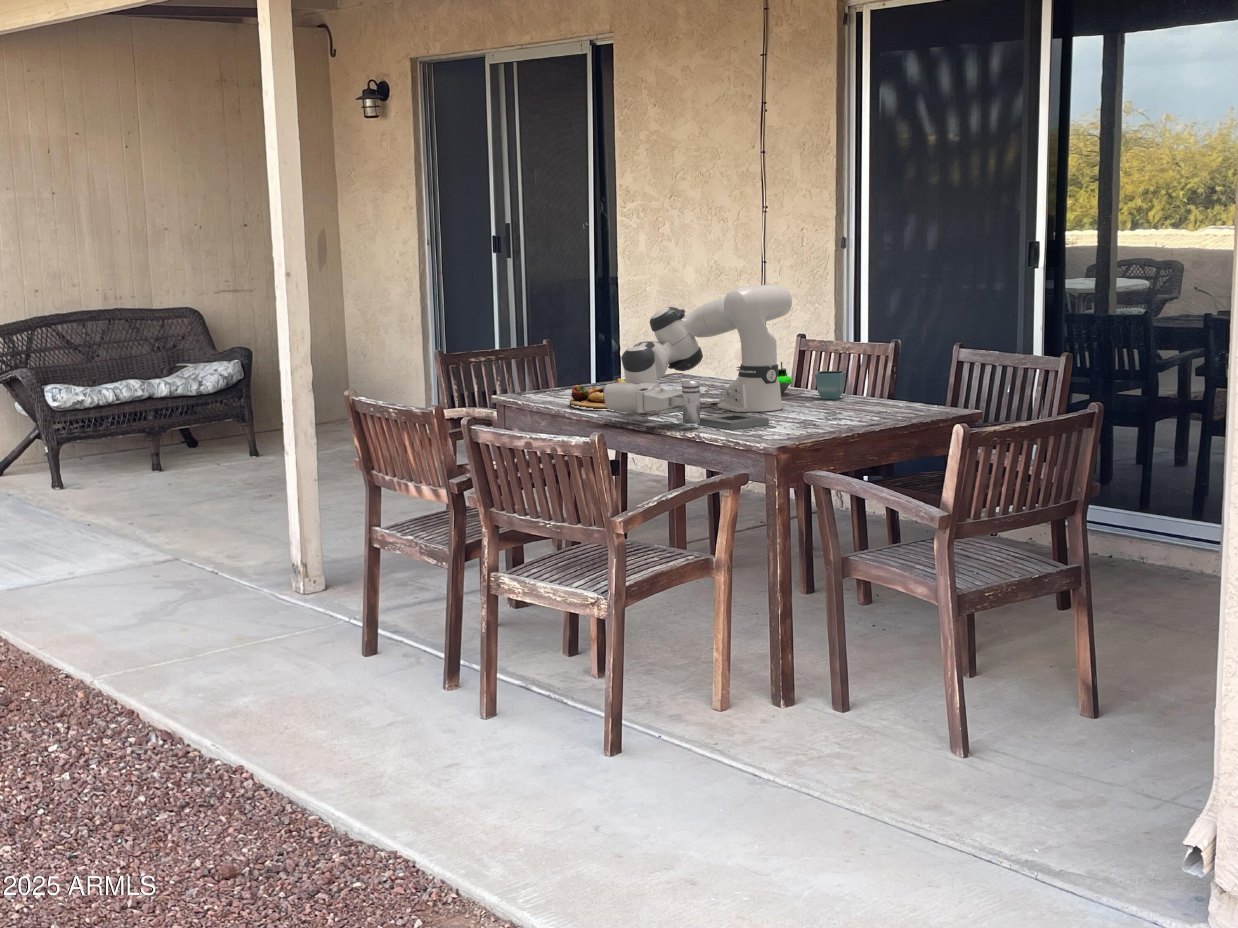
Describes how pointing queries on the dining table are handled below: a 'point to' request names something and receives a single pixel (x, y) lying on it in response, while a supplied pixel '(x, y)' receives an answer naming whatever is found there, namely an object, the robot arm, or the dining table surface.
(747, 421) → the bore block
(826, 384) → the flower pot
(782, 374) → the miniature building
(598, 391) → the wooden plate with food
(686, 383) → the white pepper mill
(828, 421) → the dining table surface
